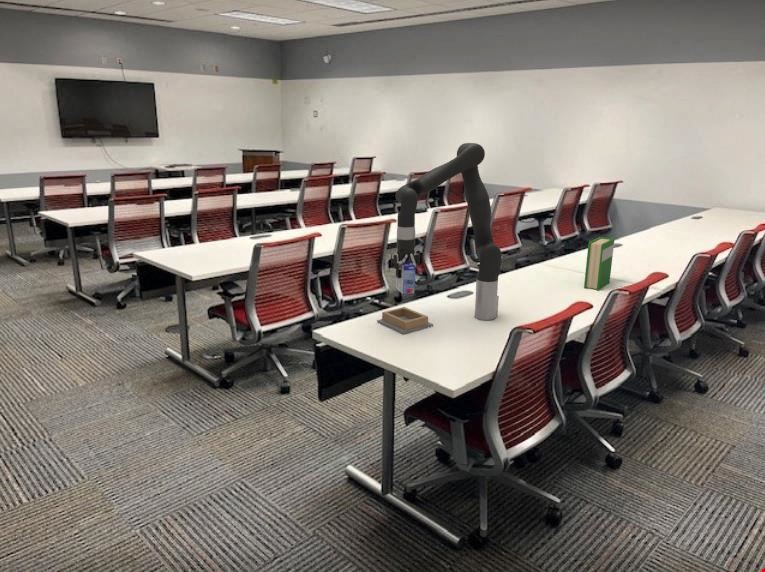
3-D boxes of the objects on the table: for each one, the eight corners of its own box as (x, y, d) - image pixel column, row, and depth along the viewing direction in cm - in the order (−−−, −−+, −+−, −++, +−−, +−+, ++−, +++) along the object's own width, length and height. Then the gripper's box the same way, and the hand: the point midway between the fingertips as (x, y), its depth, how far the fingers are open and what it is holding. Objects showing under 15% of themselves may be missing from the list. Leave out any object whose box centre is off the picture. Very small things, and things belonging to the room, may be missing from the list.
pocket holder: (406, 314, 254) (406, 305, 252) (433, 326, 240) (433, 316, 239) (377, 322, 244) (377, 312, 243) (403, 334, 231) (403, 324, 229)
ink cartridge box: (415, 293, 234) (415, 259, 230) (402, 295, 233) (402, 260, 229) (408, 287, 243) (408, 254, 239) (395, 288, 242) (395, 255, 238)
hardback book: (598, 290, 288) (603, 244, 281) (583, 288, 293) (588, 242, 286) (609, 283, 302) (614, 238, 295) (595, 280, 306) (600, 236, 299)
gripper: (413, 233, 238) (413, 272, 243) (386, 237, 230) (386, 277, 235) (425, 236, 233) (424, 275, 237) (397, 240, 224) (397, 281, 229)
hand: (405, 276), depth 236 cm, fingers closed on ink cartridge box, 6 cm apart
